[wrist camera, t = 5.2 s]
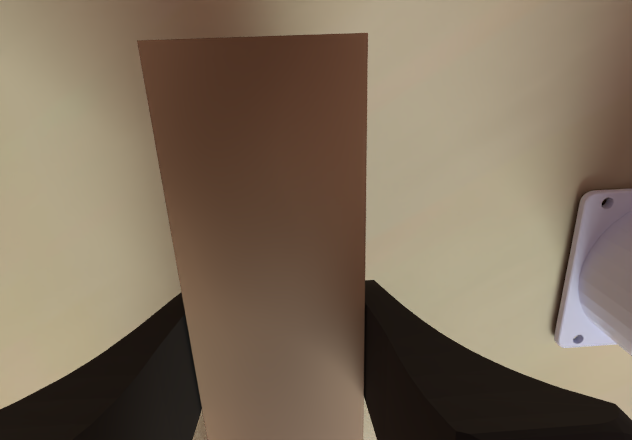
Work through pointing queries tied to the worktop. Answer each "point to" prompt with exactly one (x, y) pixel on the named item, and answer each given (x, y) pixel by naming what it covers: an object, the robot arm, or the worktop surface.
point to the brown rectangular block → (268, 225)
